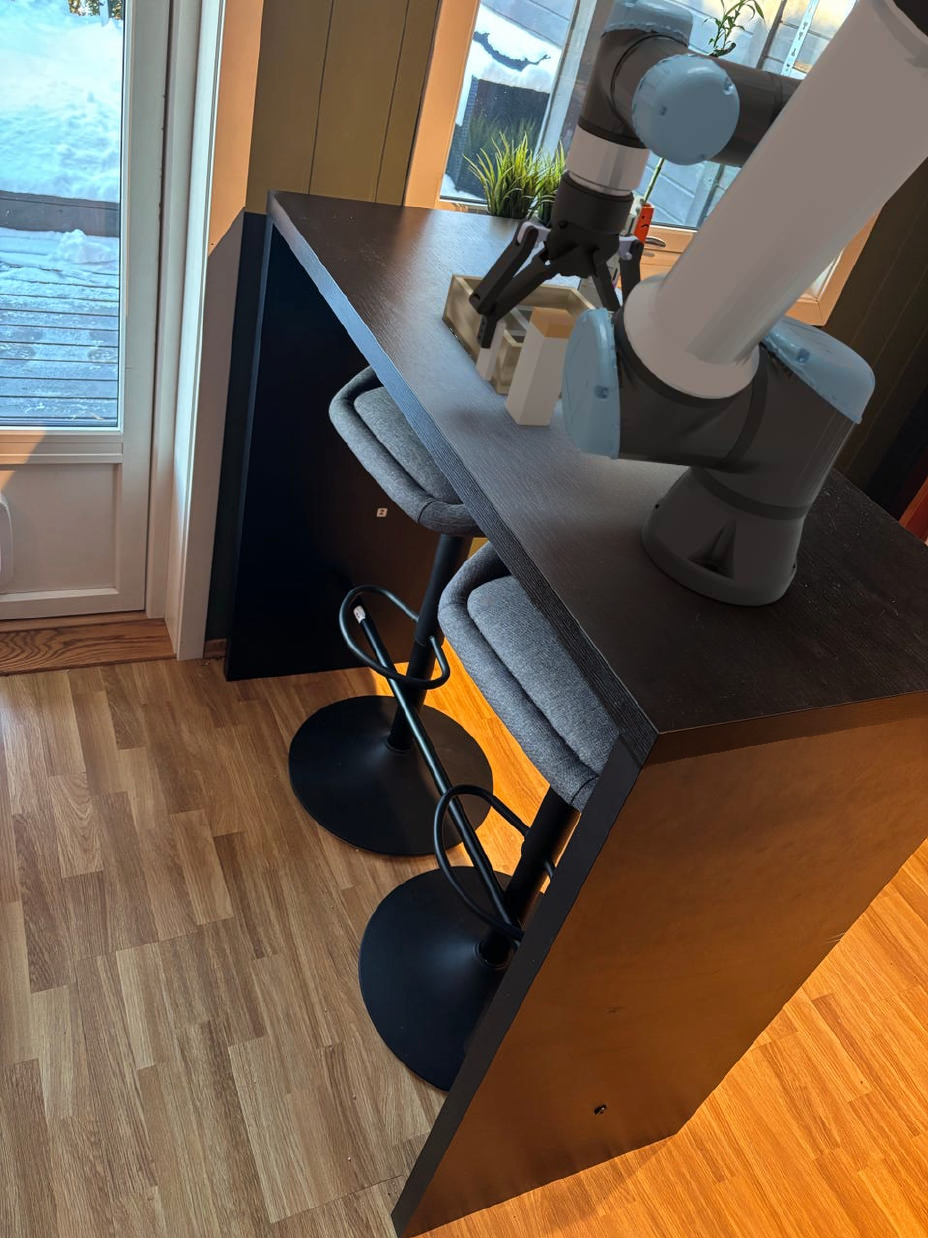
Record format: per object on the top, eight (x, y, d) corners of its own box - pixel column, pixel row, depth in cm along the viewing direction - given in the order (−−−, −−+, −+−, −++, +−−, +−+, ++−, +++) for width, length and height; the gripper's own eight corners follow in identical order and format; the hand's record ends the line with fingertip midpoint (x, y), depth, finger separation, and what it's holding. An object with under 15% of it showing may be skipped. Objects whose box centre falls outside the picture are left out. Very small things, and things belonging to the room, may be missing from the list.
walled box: (627, 400, 119) (644, 355, 115) (498, 393, 112) (512, 346, 108) (560, 328, 132) (573, 286, 129) (442, 318, 125) (452, 273, 121)
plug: (549, 425, 108) (581, 326, 101) (517, 424, 107) (549, 323, 99) (535, 408, 111) (566, 309, 104) (504, 406, 109) (533, 306, 102)
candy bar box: (578, 297, 144) (614, 185, 134) (609, 308, 144) (647, 197, 134) (564, 320, 135) (602, 202, 125) (598, 332, 135) (638, 214, 125)
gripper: (684, 184, 101) (616, 367, 114) (470, 149, 90) (423, 354, 103) (721, 211, 96) (646, 399, 109) (500, 177, 85) (446, 389, 98)
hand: (537, 378), depth 106 cm, fingers open, 13 cm apart
